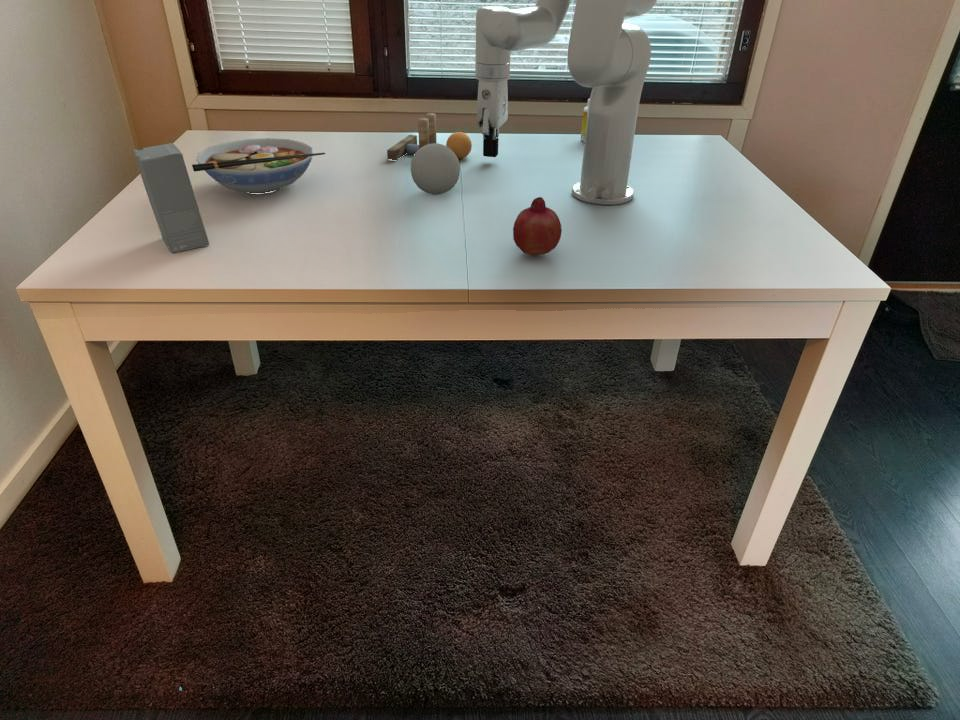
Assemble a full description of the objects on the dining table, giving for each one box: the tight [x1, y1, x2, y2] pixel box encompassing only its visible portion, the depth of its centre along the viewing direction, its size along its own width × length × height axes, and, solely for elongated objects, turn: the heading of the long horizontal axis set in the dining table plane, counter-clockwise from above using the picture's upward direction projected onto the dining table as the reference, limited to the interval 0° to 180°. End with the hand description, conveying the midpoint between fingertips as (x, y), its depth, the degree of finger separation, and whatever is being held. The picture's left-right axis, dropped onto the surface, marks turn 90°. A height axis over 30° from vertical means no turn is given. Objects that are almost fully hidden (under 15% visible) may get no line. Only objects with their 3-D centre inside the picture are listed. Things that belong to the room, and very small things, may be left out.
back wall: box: [386, 134, 418, 161], centre depth 155 cm, size 14×2×2 cm, turn 164°
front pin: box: [406, 144, 419, 155], centre depth 154 cm, size 2×2×9 cm
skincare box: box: [132, 142, 210, 254], centre depth 107 cm, size 8×7×16 cm
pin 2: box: [425, 112, 438, 144], centre depth 154 cm, size 2×2×9 cm
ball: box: [410, 142, 461, 196], centre depth 130 cm, size 10×10×10 cm
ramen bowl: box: [191, 137, 326, 194], centre depth 132 cm, size 25×23×8 cm
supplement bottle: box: [580, 98, 590, 143], centre depth 165 cm, size 6×6×10 cm
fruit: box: [512, 196, 563, 256], centre depth 106 cm, size 8×8×10 cm
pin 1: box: [417, 117, 429, 149], centre depth 150 cm, size 2×2×9 cm
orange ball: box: [445, 131, 473, 160], centre depth 152 cm, size 6×6×6 cm
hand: (490, 155), depth 150 cm, fingers closed
